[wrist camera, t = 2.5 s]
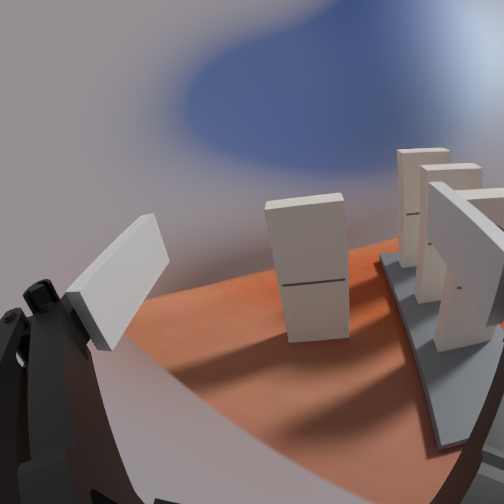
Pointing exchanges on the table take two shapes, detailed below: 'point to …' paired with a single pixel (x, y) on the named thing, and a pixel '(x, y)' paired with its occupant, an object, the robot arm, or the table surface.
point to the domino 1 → (311, 265)
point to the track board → (443, 361)
